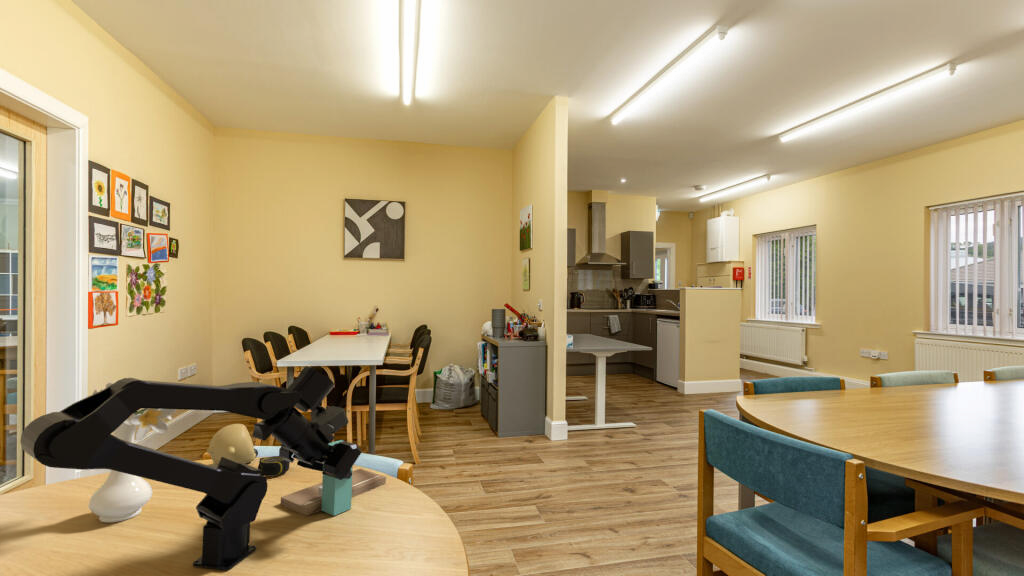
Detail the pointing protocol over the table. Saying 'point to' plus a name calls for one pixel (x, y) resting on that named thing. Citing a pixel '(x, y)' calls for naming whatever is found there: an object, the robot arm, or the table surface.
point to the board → (312, 502)
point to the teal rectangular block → (335, 493)
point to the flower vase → (124, 490)
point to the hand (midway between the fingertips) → (343, 474)
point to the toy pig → (232, 445)
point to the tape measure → (273, 466)
